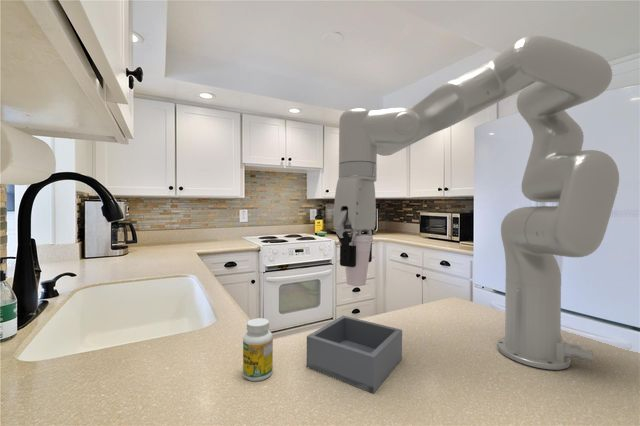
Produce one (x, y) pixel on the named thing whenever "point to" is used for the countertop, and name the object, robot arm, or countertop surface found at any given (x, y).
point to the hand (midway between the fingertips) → (356, 263)
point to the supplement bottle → (257, 350)
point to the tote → (355, 351)
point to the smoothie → (359, 260)
